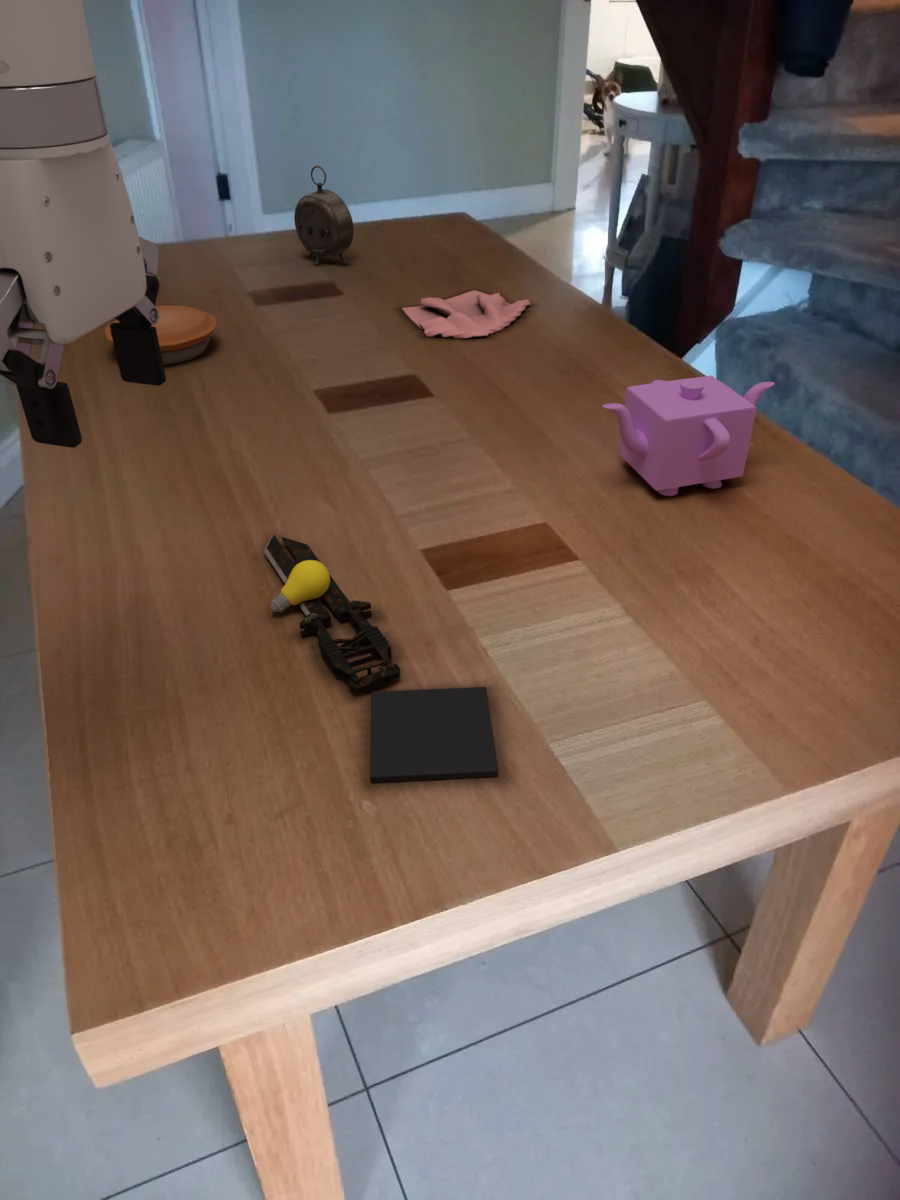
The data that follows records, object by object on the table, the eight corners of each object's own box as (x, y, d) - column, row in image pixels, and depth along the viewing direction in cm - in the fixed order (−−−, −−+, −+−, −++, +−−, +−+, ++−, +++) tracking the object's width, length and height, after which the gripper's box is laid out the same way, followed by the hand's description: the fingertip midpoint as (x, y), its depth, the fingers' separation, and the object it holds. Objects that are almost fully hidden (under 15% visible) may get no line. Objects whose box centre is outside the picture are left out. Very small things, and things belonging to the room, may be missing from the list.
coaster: (370, 783, 65) (370, 777, 64) (371, 697, 72) (371, 691, 72) (497, 776, 65) (498, 770, 65) (485, 692, 72) (486, 686, 72)
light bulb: (329, 564, 79) (307, 545, 81) (275, 608, 78) (254, 587, 80) (343, 588, 82) (321, 569, 84) (290, 631, 80) (269, 610, 82)
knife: (258, 544, 90) (256, 531, 89) (322, 530, 92) (320, 518, 91) (331, 704, 71) (330, 690, 70) (409, 682, 73) (409, 669, 72)
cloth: (418, 343, 134) (418, 327, 132) (395, 296, 151) (395, 281, 150) (553, 333, 137) (554, 317, 136) (515, 288, 154) (516, 273, 153)
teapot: (646, 435, 109) (658, 346, 103) (758, 463, 103) (778, 370, 97) (592, 489, 99) (602, 394, 92) (714, 523, 93) (733, 424, 86)
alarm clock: (357, 263, 166) (351, 166, 157) (337, 271, 163) (329, 172, 153) (313, 253, 172) (304, 159, 162) (293, 260, 168) (283, 164, 159)
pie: (183, 324, 141) (178, 291, 138) (241, 350, 132) (237, 316, 129) (90, 351, 132) (81, 316, 129) (145, 380, 123) (137, 344, 120)
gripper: (69, 93, 57) (127, 357, 68) (-149, 143, 44) (-36, 463, 54) (176, 98, 56) (219, 368, 66) (-17, 151, 42) (74, 480, 52)
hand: (104, 410), depth 60 cm, fingers open, 9 cm apart
